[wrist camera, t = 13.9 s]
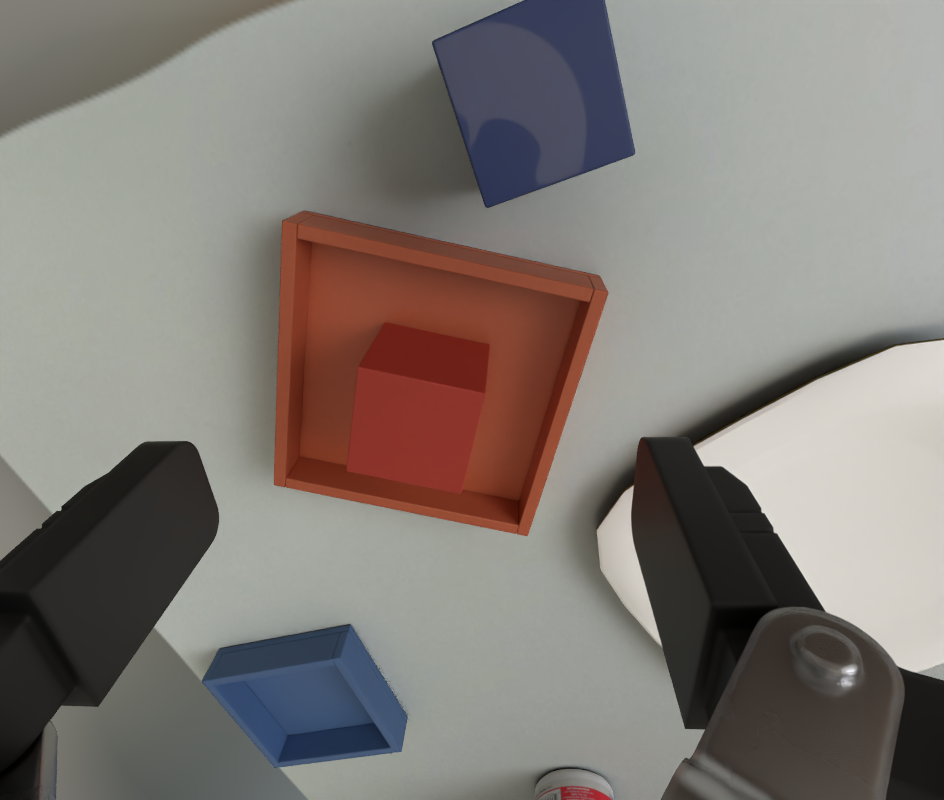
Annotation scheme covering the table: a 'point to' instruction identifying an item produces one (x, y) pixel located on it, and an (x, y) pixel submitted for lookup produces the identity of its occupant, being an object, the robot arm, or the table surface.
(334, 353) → the terracotta tray
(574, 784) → the pill bottle
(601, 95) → the navy block
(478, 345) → the red block
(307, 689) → the blue tray
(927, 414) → the plate
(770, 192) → the table surface
